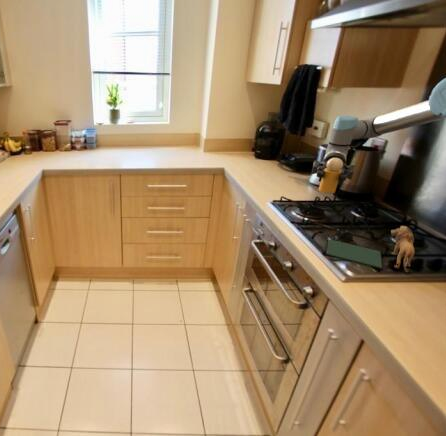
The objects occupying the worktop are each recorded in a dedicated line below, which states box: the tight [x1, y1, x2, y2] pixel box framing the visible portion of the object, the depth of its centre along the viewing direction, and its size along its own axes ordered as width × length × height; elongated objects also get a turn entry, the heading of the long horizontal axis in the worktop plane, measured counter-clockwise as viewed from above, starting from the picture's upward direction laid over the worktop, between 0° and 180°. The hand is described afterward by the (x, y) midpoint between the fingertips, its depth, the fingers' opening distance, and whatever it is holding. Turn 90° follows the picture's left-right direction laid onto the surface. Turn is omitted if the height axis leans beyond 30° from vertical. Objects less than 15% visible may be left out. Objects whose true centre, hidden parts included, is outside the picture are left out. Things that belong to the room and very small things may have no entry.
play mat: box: [325, 239, 383, 270], centre depth 99 cm, size 14×10×1 cm
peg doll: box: [318, 158, 343, 195], centre depth 113 cm, size 5×5×12 cm
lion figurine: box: [390, 225, 415, 273], centre depth 94 cm, size 15×5×9 cm, turn 156°
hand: (330, 179), depth 109 cm, fingers closed on peg doll, 5 cm apart
